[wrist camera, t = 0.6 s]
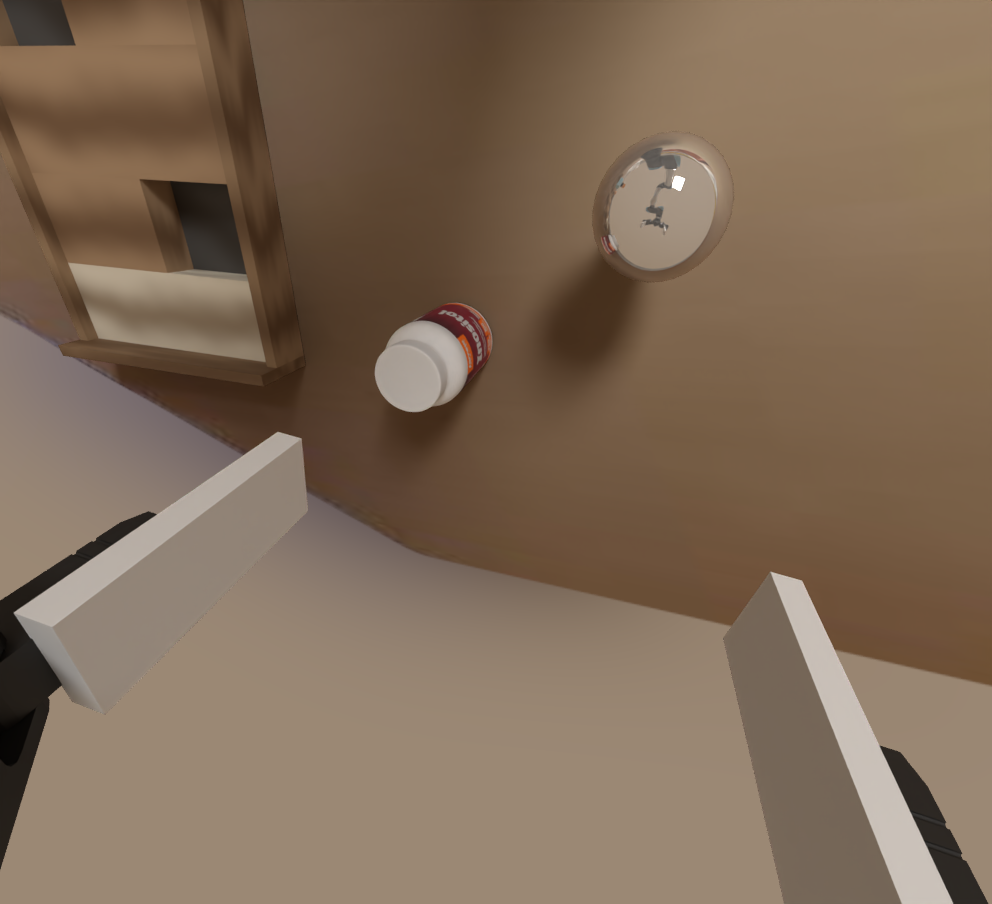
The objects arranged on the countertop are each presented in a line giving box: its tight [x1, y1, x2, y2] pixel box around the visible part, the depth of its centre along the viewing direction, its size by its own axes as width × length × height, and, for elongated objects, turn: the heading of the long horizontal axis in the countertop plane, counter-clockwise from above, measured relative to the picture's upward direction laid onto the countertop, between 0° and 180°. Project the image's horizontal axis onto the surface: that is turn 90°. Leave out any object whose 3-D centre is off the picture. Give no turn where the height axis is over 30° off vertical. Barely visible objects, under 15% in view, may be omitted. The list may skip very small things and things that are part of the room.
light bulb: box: [592, 131, 734, 283], centre depth 25 cm, size 7×7×12 cm
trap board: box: [0, 0, 306, 387], centre depth 33 cm, size 37×22×6 cm, turn 177°
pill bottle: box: [375, 303, 493, 412], centre depth 33 cm, size 6×6×11 cm
